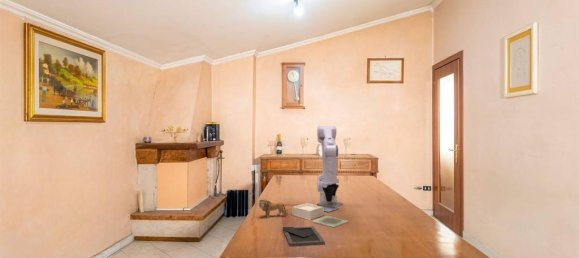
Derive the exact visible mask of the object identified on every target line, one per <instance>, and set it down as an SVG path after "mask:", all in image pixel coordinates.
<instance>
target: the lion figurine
mask: <svg viewBox="0 0 579 258" xmlns="http://www.w3.org/2000/svg"><path fill="white" fill-rule="evenodd" d="M258 207H259V209H261V210H262V211H263V212H265V214H264V217H266V218H268V219H269V218H270V216H271V215H270V213H271V212H273V211H274V212H275V211H278V213H276V216H280V215H281V213H282V214H283V215H282V217H283V218H284V217H286V216H287V215H288V212H286V211H287V210H286V207H285V204H284V203H282V202H280V201H278V202H274V203H273V202H271V201H270V200H267V199H266V198H261V199H260V200H258Z"/></svg>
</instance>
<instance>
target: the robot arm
mask: <svg viewBox="0 0 579 258" xmlns="http://www.w3.org/2000/svg"><path fill="white" fill-rule="evenodd" d="M316 131H317V132H316V134H317V135H316V136H317V142H318V143H319V144H321V147H322V148H321V156H322V158H321V161H322V162H321V163H322V166H321V167H322V173H321V174H320V175H319V176H317V179H316V180H317V181H316V183H317V184H316V190H317V191H316V192H319V203H320V202H322V201H325V200H324V195H325V196H326V200H327V201H328V202H331V201H332V195H333V196H337V197H338V195H337V191H338V189H339V186H340V184H339V183H340V179H339V178H338V157H339V146H338V144H336V137H337V127H336V126H335V125H318V126H317V129H316ZM334 202H338V200H337V201H334ZM336 210H339V207H338V208H336V209H332V208H327V207H324V212H326V213H330V212H332V211H336Z"/></svg>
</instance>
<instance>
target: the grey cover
mask: <svg viewBox="0 0 579 258" xmlns="http://www.w3.org/2000/svg"><path fill="white" fill-rule="evenodd" d="M324 200H325V201H322V202H320V201H319V203H317V204H316V205H317V206H321V207H327V208H332V209H336V208H338V209H339V208H340V207H342V206H343V205H344V202H339V201H338V195H337V196H333V195H332V201H331V202H328V201H327V200H326V196H325V195H324ZM334 201H337V202H334ZM336 210H337V209H336Z"/></svg>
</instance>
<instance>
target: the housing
mask: <svg viewBox="0 0 579 258" xmlns="http://www.w3.org/2000/svg"><path fill="white" fill-rule="evenodd" d="M291 212H292V213H291V214H292V216H293V217H297V218H300V219H305V220H309V221H310V220H311V221H312V220H315V219H318V218H321V217H324V215H325V211H324V207H321V206H317V204H314V203H313V204H312V203H310V202H309V203H308V202H305V203H301V204H298V205H294V206H292V211H291Z"/></svg>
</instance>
